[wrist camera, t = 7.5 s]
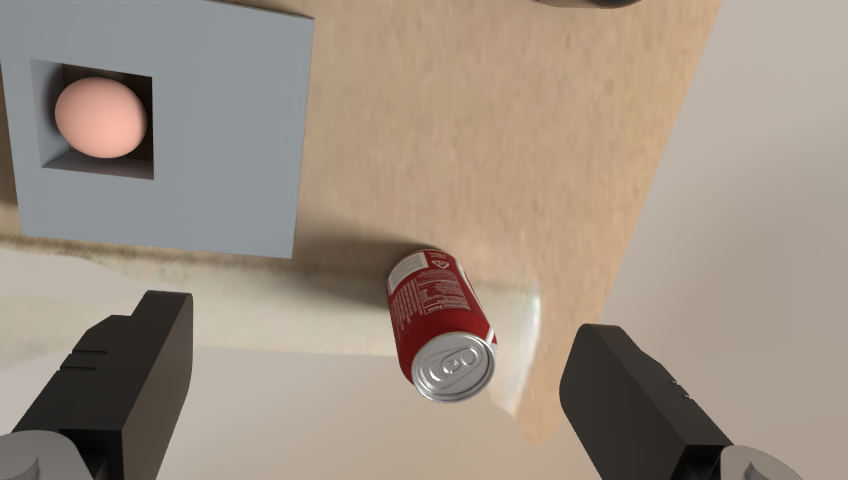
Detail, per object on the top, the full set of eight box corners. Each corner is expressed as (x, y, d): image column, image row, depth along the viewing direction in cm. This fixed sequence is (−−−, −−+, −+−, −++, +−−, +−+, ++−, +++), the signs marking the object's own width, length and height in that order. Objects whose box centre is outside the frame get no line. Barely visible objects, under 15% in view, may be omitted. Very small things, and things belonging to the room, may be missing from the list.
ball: (88, 87, 30) (164, 84, 34) (31, 70, 32) (110, 69, 36) (94, 172, 32) (165, 160, 36) (40, 152, 33) (114, 142, 38)
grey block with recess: (27, -35, 32) (-12, -40, 28) (314, 18, 36) (312, 20, 32) (51, 212, 38) (21, 235, 34) (294, 236, 42) (291, 258, 38)
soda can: (371, 267, 44) (384, 354, 33) (445, 232, 44) (482, 308, 33) (405, 327, 47) (428, 426, 36) (475, 294, 46) (519, 384, 36)
